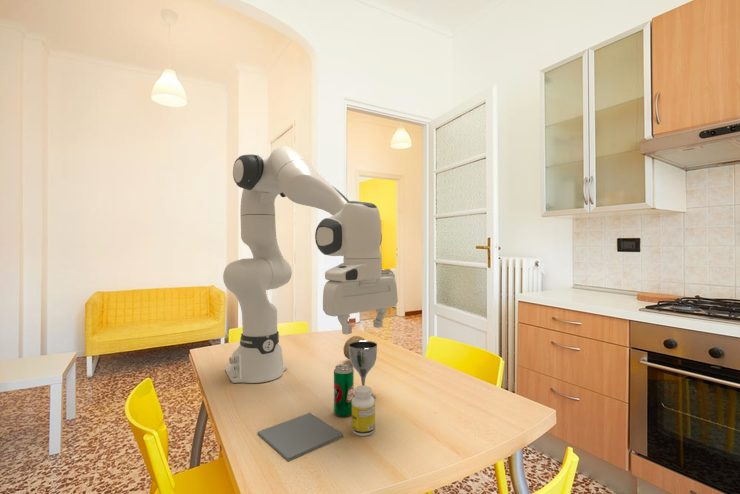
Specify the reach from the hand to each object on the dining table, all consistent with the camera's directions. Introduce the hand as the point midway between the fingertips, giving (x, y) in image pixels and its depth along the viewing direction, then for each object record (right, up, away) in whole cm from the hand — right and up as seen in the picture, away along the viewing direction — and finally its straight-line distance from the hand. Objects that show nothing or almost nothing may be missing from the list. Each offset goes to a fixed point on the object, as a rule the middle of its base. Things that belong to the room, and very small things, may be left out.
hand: (363, 330), depth 84 cm
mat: (-14, -23, -2) cm, 27 cm away
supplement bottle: (0, -24, 0) cm, 24 cm away
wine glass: (0, -23, +19) cm, 30 cm away
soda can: (-5, -24, +9) cm, 26 cm away
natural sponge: (-4, -23, +48) cm, 53 cm away
